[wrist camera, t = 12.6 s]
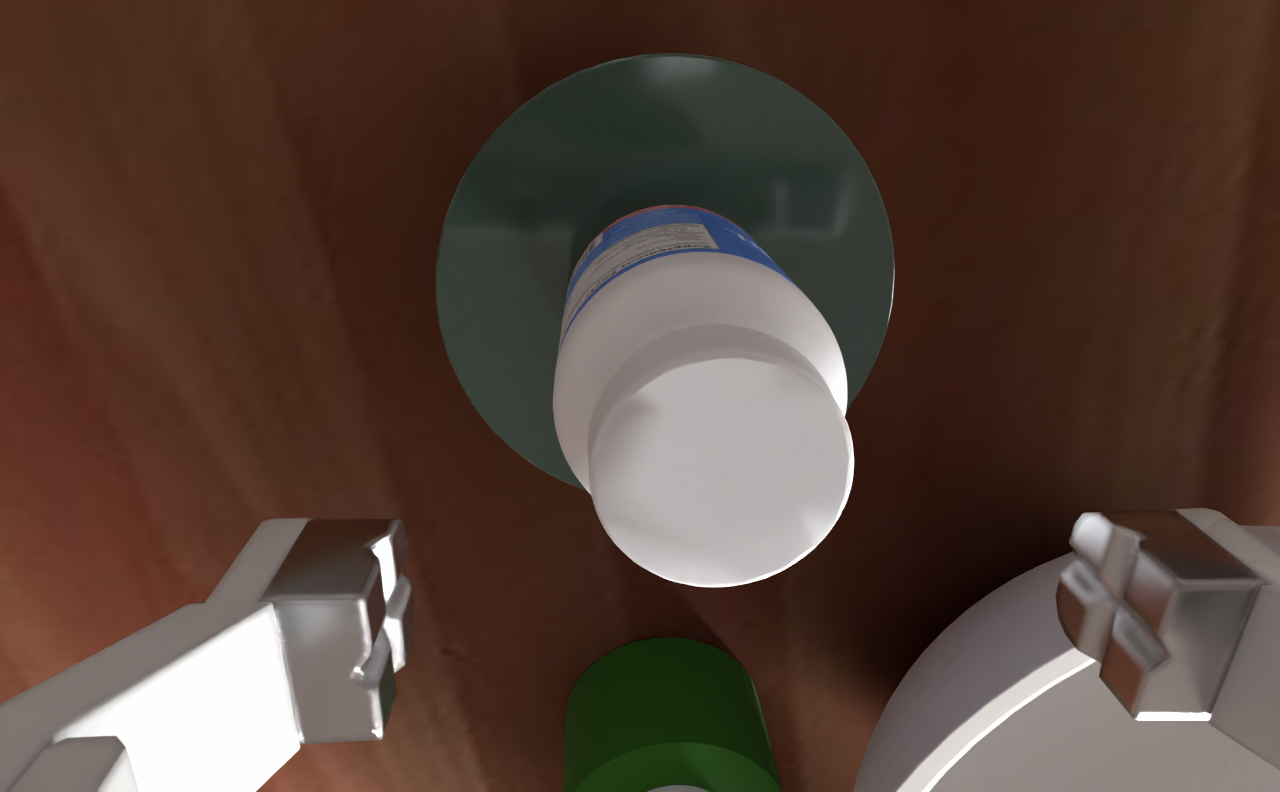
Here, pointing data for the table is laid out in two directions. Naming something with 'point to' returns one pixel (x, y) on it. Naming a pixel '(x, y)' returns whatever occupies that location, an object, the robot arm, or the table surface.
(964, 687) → the bowl
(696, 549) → the pill bottle
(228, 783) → the robot arm
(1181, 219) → the table surface
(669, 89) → the stand
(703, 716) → the candle
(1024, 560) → the table surface
